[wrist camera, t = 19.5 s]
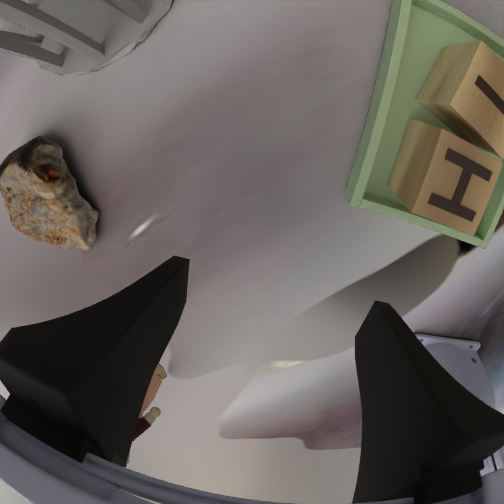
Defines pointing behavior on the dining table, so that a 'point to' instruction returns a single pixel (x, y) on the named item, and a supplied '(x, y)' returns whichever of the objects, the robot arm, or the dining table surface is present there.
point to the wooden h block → (443, 176)
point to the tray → (414, 109)
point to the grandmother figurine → (150, 395)
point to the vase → (78, 31)
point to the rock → (46, 197)
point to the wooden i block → (468, 94)
